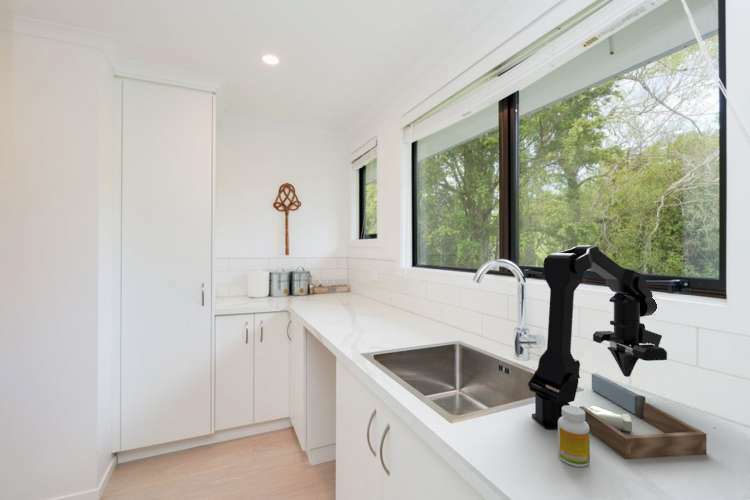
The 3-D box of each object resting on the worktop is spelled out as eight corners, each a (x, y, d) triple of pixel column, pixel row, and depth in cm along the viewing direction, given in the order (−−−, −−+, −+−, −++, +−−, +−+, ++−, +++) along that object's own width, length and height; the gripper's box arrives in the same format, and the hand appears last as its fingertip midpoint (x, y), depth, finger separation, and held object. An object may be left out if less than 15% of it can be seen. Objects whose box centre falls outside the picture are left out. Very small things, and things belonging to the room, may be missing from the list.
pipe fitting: (584, 418, 86) (590, 429, 80) (583, 401, 86) (590, 411, 80) (622, 423, 83) (632, 435, 77) (622, 406, 83) (631, 417, 77)
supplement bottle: (594, 469, 65) (594, 417, 65) (563, 466, 66) (562, 415, 66) (583, 452, 71) (583, 404, 70) (554, 449, 72) (554, 402, 71)
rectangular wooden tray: (625, 459, 68) (625, 433, 68) (573, 419, 84) (573, 398, 84) (707, 453, 70) (707, 428, 70) (641, 415, 85) (641, 395, 85)
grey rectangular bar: (591, 389, 100) (591, 373, 100) (596, 389, 100) (596, 373, 100) (634, 414, 85) (634, 396, 85) (640, 414, 86) (640, 395, 85)
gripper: (688, 325, 86) (687, 389, 86) (627, 311, 104) (627, 363, 105) (645, 326, 85) (645, 391, 85) (591, 312, 103) (591, 365, 104)
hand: (626, 376), depth 95 cm, fingers closed
